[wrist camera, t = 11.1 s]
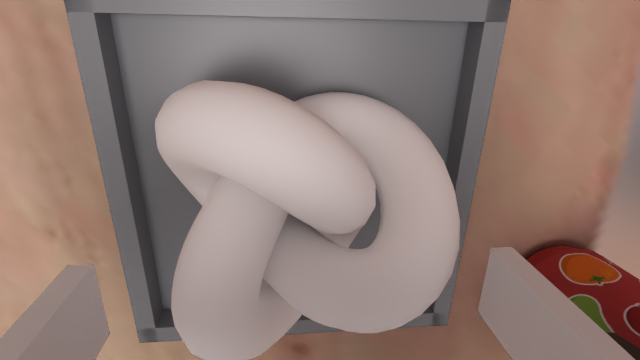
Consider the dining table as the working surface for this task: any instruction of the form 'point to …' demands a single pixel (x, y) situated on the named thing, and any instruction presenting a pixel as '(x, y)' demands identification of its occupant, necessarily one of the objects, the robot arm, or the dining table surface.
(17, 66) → the dining table surface
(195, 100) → the white trefoil knot
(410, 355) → the dining table surface
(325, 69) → the tray
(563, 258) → the smoothie
